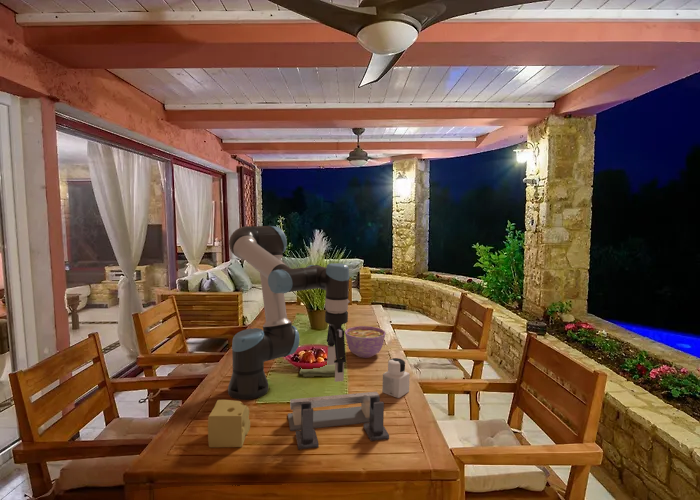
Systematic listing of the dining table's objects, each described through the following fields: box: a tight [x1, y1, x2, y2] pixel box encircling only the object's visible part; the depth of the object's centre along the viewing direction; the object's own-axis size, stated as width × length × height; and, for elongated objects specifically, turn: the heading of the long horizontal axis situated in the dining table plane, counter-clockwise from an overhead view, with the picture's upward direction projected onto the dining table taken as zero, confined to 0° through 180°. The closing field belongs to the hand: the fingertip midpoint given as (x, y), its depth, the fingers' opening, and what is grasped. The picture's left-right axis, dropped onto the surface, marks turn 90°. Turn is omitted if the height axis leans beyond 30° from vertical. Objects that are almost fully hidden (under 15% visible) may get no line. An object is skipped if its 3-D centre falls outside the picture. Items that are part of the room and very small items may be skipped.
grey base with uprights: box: [287, 402, 370, 432], centre depth 134 cm, size 31×10×5 cm, turn 103°
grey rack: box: [295, 394, 390, 451], centre depth 122 cm, size 28×8×11 cm, turn 103°
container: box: [381, 357, 411, 399], centre depth 153 cm, size 8×8×13 cm
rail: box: [289, 391, 380, 411], centre depth 133 cm, size 30×2×2 cm, turn 103°
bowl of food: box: [344, 325, 387, 359], centre depth 194 cm, size 20×20×12 cm
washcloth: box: [299, 364, 335, 378], centre depth 173 cm, size 13×18×3 cm
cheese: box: [207, 399, 251, 448], centre depth 120 cm, size 10×11×10 cm
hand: (335, 372), depth 133 cm, fingers open, 13 cm apart
